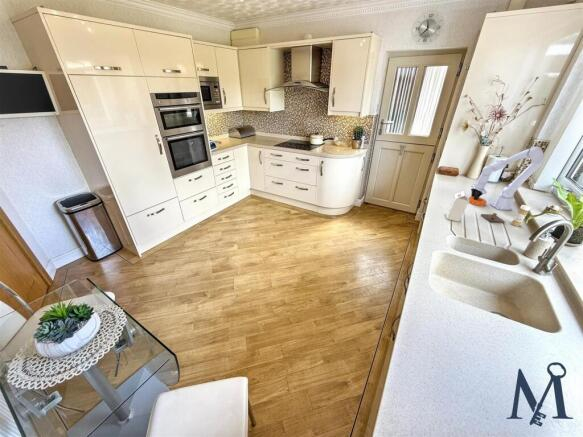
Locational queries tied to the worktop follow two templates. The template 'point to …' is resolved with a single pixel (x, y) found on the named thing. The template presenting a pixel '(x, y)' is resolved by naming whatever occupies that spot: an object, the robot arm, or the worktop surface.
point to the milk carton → (457, 206)
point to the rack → (493, 218)
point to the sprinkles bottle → (520, 215)
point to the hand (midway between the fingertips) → (473, 198)
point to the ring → (477, 201)
